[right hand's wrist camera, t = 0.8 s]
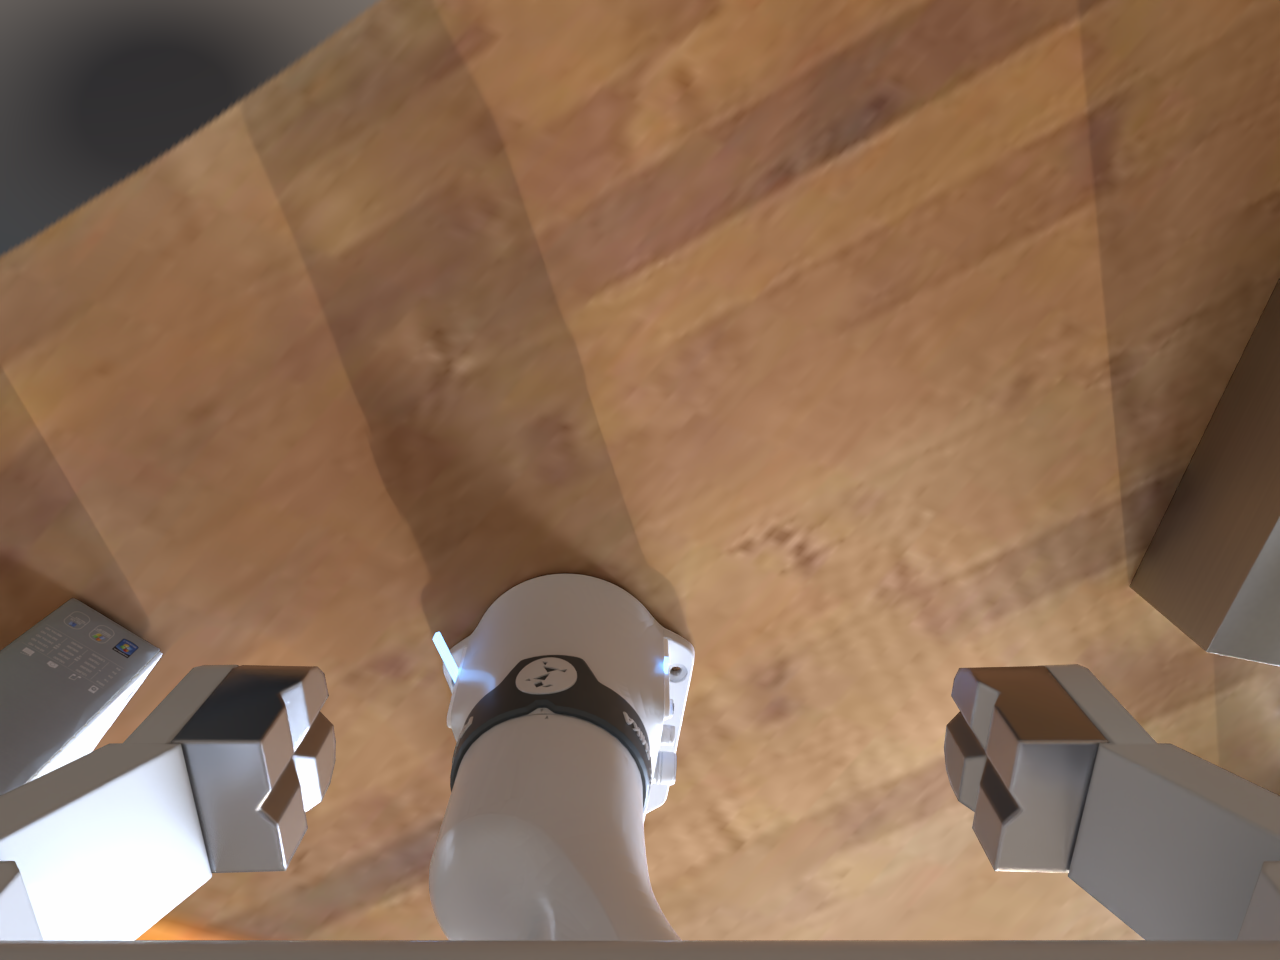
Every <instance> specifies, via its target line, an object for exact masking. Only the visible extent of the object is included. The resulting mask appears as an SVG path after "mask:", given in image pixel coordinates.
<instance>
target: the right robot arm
mask: <svg viewBox="0 0 1280 960" xmlns="http://www.w3.org/2000/svg"><path fill="white" fill-rule="evenodd" d="M433 641H434V643H435V645H436V647H437V649H438V651H439V653H440V655H441V657H442V659H443V672H444V675H445V677H446V680H447V683H448V685H449V688H450V690H451V693H452V697H451V701H450V706H449V710H448V714H447V726H448V727H449V728H451V729H452V731H453V734H454V737H455V740H456V742H457V743H456V747H455V750H454V755H453V760H452V770H451V783H450V786H451V795H450V799H449V802H448V805H447V809H446V812H445V815H444V819H443V822H442V825H441V829H440V832H439V835H438V839H437V842H436V845H435V849H434V852H433V855H432V859H431V862H430V869H429V892H430V898H431V904H432V907H433V911H434V914H435V916H436V919H437V921H438V923H439V925H440V927H441V929H442V931H443V932H444V934H445V935H446V937H447V938H448V940H135V939H137V938H138V937H139V936H140V935H141V934H143V933H144V932H145V931H146V930H148V929H149V928H150V927H151V926H152V925H154V924H155V923H156V922H157V921H159V920H160V919H161V918H162V917H164V916H165V915H166V914H167V913H168V912H170V911H171V910H172V909H173V908H175V907H176V906H177V905H178V904H179V903H181V902H182V901H183V900H184V899H186V898H187V897H188V896H189V895H190V894H192V893H193V892H194V891H195V890H197V889H198V888H199V887H200V886H201V885H203V884H204V883H205V882H206V881H208V880H209V879H210V878H211V877H212V874H211V873H230V872H265V871H286V869H287V867H288V865H289V863H290V861H291V859H292V857H293V855H294V853H295V851H296V850H297V848H298V846H299V844H300V842H301V840H302V838H303V836H304V834H305V832H306V830H307V828H308V826H307V820H306V814H305V812H306V811H308V810H309V809H311V808H312V807H314V806H315V805H316V804H318V803H319V802H321V801H322V799H323V797H324V795H325V793H326V791H327V789H328V787H329V785H330V782H331V778H332V773H333V769H334V764H335V754H336V740H335V733H334V726H333V724H332V723H331V722H330V721H329V720H328V719H327V718H326V717H325V716H324V715H323V714H322V713H321V712H320V710H321V708H322V706H323V705H324V703H325V701H326V700H327V698H328V696H329V695H328V689H327V684H326V679H325V674H324V673H323V672H322V671H321V670H320V669H319V668H318V667H307V666H259V665H242V666H238V665H202V666H198V667H195V668H193V669H192V670H191V671H190V672H189V673H188V674H187V675H186V676H185V677H184V678H183V679H182V680H181V681H180V683H179V684H178V685H177V686H176V687H175V688H174V689H173V690H172V691H171V692H170V693H169V694H168V695H167V696H166V698H165V699H164V700H163V701H162V702H161V703H160V704H159V705H158V706H157V707H156V708H155V709H154V710H153V711H152V713H151V714H150V715H149V716H148V717H147V718H146V719H145V720H144V721H143V722H142V723H141V724H140V725H139V726H138V728H137V729H136V730H135V731H134V732H133V733H132V734H131V735H130V736H129V737H128V738H127V739H126V740H125V741H124V743H123V744H108V745H106V746H104V747H101V748H99V749H97V750H95V751H93V752H91V753H89V754H87V755H85V756H83V757H81V758H78V759H76V760H74V761H72V762H70V763H68V764H66V765H64V766H62V767H60V768H57V769H55V770H53V771H51V772H49V773H47V774H45V775H43V776H41V777H39V778H37V779H34V780H32V781H30V782H28V783H26V784H24V785H22V786H20V787H18V788H16V789H13V790H11V791H9V792H7V793H5V794H3V795H1V796H0V960H1280V796H1279V795H1277V794H1275V793H1273V792H1270V791H1268V790H1266V789H1264V788H1262V787H1260V786H1258V785H1256V784H1254V783H1252V782H1250V781H1247V780H1245V779H1243V778H1241V777H1239V776H1237V775H1235V774H1233V773H1231V772H1229V771H1227V770H1224V769H1222V768H1220V767H1218V766H1216V765H1214V764H1212V763H1210V762H1208V761H1206V760H1204V759H1202V758H1199V757H1197V756H1195V755H1193V754H1191V753H1189V752H1187V751H1185V750H1183V749H1181V748H1179V747H1176V746H1174V745H1172V744H1157V743H1156V741H1155V740H1154V739H1153V738H1152V737H1151V736H1150V735H1149V734H1148V733H1147V732H1146V731H1145V730H1144V729H1143V728H1142V726H1141V725H1140V724H1139V723H1138V722H1137V721H1136V720H1135V719H1134V718H1133V717H1132V716H1131V715H1130V714H1129V712H1128V711H1127V710H1126V709H1125V708H1124V707H1123V706H1122V705H1121V704H1120V703H1119V702H1118V701H1117V700H1116V699H1115V697H1114V696H1113V695H1112V694H1111V693H1110V692H1109V691H1108V690H1107V689H1106V688H1105V687H1104V686H1103V685H1102V683H1101V682H1100V681H1099V680H1098V679H1097V678H1096V677H1095V676H1094V675H1093V674H1092V673H1091V672H1090V671H1089V670H1088V669H1087V668H1085V667H1083V666H1080V665H1078V664H1074V665H1046V666H1026V667H981V668H959V670H958V672H957V674H956V676H955V678H954V683H953V689H952V694H951V696H952V698H953V700H954V701H955V703H956V705H957V706H958V708H959V710H960V712H959V713H958V714H957V715H956V716H955V717H954V718H953V719H952V720H951V721H950V722H949V723H948V724H947V726H946V735H945V743H944V753H945V764H946V771H947V775H948V778H949V781H950V785H951V787H952V789H953V791H954V793H955V795H956V797H957V799H958V801H959V802H961V803H962V804H964V805H965V806H966V807H968V808H969V809H971V810H972V811H974V812H975V814H974V820H973V826H972V828H973V830H974V832H975V834H976V836H977V838H978V840H979V842H980V844H981V846H982V848H983V849H984V851H985V853H986V855H987V857H988V859H989V861H990V863H991V865H992V867H993V868H994V870H995V871H1014V872H1049V873H1068V877H1069V878H1070V879H1072V880H1073V881H1074V882H1075V883H1076V884H1078V885H1079V886H1080V887H1081V888H1083V889H1084V890H1085V891H1086V892H1087V893H1089V894H1090V895H1091V896H1092V897H1094V898H1095V899H1096V900H1097V901H1098V902H1100V903H1101V904H1102V905H1103V906H1105V907H1106V908H1107V909H1108V910H1109V911H1111V912H1112V913H1113V914H1114V915H1116V916H1117V917H1118V918H1119V919H1120V920H1122V921H1123V922H1124V923H1125V924H1127V925H1128V926H1129V927H1130V928H1131V929H1133V930H1134V931H1135V932H1136V933H1138V934H1139V935H1140V936H1141V937H1142V938H1144V939H1145V940H786V941H785V940H784V941H682V940H681V939H680V937H679V936H678V935H677V933H676V932H675V931H674V929H673V928H672V927H671V925H670V924H669V922H668V920H667V919H666V917H665V916H664V914H663V912H662V910H661V908H660V906H659V904H658V902H657V900H656V898H655V896H654V893H653V891H652V888H651V884H650V879H649V874H648V867H647V859H646V851H645V840H644V825H643V824H644V820H645V815H646V813H648V812H650V811H652V810H654V809H656V808H657V807H659V806H661V805H662V804H663V803H664V802H665V800H666V798H667V794H668V789H669V785H672V784H674V783H675V778H676V767H677V756H676V749H677V744H678V739H679V734H680V729H681V724H682V719H683V714H684V709H685V704H686V699H687V694H688V689H689V684H690V679H691V674H692V669H693V664H694V654H695V652H694V647H693V646H692V644H691V643H690V642H689V641H688V640H686V639H685V638H683V637H681V636H680V635H678V634H676V633H674V632H672V631H670V630H668V629H666V628H664V627H663V626H661V625H660V624H659V623H658V622H657V621H656V620H655V619H654V618H653V616H652V615H651V614H650V613H649V611H648V610H647V609H646V608H645V607H644V606H643V605H642V604H641V603H640V602H639V601H638V600H637V599H636V598H635V597H633V596H632V595H631V594H630V593H628V592H627V591H625V590H624V589H622V588H620V587H618V586H616V585H614V584H612V583H610V582H607V581H605V580H602V579H599V578H595V577H591V576H587V575H580V574H552V575H545V576H540V577H537V578H533V579H530V580H527V581H525V582H523V583H520V584H518V585H516V586H515V587H513V588H511V589H510V590H508V591H507V592H505V593H504V594H502V595H501V596H500V597H499V598H498V599H497V600H496V601H495V602H494V603H493V604H492V605H491V606H490V607H489V608H488V610H487V611H486V613H485V614H484V616H483V617H482V619H481V621H480V622H479V624H478V626H477V627H476V629H475V630H474V631H473V633H472V634H471V635H470V636H468V637H467V638H465V639H464V640H462V641H461V642H459V643H458V644H456V645H455V646H453V647H452V648H451V649H450V650H448V648H447V646H446V644H445V642H444V640H443V638H442V636H441V634H440V632H437V633H435V635H434V638H433ZM675 666H677V667H680V669H679V670H677V671H674V670H672V669H671V668H673V667H675Z"/></svg>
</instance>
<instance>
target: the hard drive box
mask: <svg viewBox="0 0 1280 960" xmlns="http://www.w3.org/2000/svg"><path fill="white" fill-rule="evenodd" d="M159 651H160V649H159V648H157V647H155V646H153V645H152V644H150V643H149V642H147V641H146V640H144V639H142V638H140V637H139V636H137V635H135V634H134V633H132V632H130V631H129V630H127V629H125V628H124V627H122V626H120V625H119V624H117V623H115V622H114V621H112V620H110V619H109V618H107V617H105V616H104V615H102V614H100V613H99V612H97V611H95V610H94V609H92V608H90V607H89V606H87V605H85V604H84V603H82V602H80V601H79V600H77V599H75V598H71V599H70V600H69V601H67V602H66V603H65V604H63V605H62V606H61V607H59V608H58V609H56V610H55V611H54V612H52V613H51V614H49V615H48V616H47V617H45V618H44V619H43V620H41V621H40V622H38V623H37V624H36V625H34V626H33V627H32V628H30V629H29V630H28V631H26V632H25V633H24V634H22V635H21V636H20V637H18V638H17V639H16V640H14V641H13V642H12V643H10V644H9V645H8V646H6V647H5V648H4V649H2V650H1V651H0V796H1V795H3V794H5V793H7V792H9V791H11V790H13V789H16V788H18V787H20V786H22V785H24V784H26V783H28V782H30V781H32V780H34V779H37V778H39V777H41V776H43V775H45V774H47V773H49V772H51V771H53V770H55V769H57V768H60V767H62V766H64V765H66V764H68V763H70V762H72V761H74V760H76V759H78V758H81V757H83V756H85V755H87V754H89V753H91V752H92V751H93V750H94V748H95V747H96V745H97V744H98V743H99V741H100V740H101V738H102V737H103V735H104V734H105V733H106V731H107V730H108V729H109V727H110V726H111V725H112V723H113V722H114V721H115V719H116V718H117V717H118V715H119V714H120V712H121V711H122V710H123V708H124V707H125V705H126V704H127V703H128V701H129V700H130V699H131V697H132V696H133V695H134V693H135V692H136V691H137V689H138V688H139V687H140V685H141V684H142V682H143V681H144V680H145V678H146V677H147V675H148V674H149V672H150V671H151V670H152V668H153V667H154V666H155V664H156V663H157V662H158V660H159V659H160V657H161V656H162V653H161V652H159Z"/></svg>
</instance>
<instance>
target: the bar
mask: <svg viewBox="0 0 1280 960" xmlns="http://www.w3.org/2000/svg"><path fill="white" fill-rule="evenodd" d="M1130 588H1132V589H1133V590H1134V591H1135V592H1136V593H1138V594H1139V595H1140V596H1141V597H1142V598H1143V599H1145V600H1146V601H1147V602H1148V603H1149V604H1151V605H1152V606H1153V607H1154V608H1155V609H1156V610H1158V611H1159V612H1160V613H1161V614H1162V615H1164V616H1165V617H1166V618H1167V619H1168V620H1169V621H1171V622H1172V623H1173V624H1174V625H1175V626H1177V627H1178V628H1179V629H1180V630H1181V631H1182V632H1184V633H1185V634H1186V635H1187V636H1188V637H1189V638H1191V639H1192V640H1193V641H1194V642H1195V643H1197V644H1198V645H1199V646H1200V647H1201V648H1202V649H1204V650H1205V651H1206V652H1210V653H1215V654H1220V655H1225V656H1230V657H1235V658H1240V659H1245V660H1250V661H1255V662H1261V663H1266V664H1271V665H1276V666H1280V279H1279V281H1278V283H1277V285H1276V287H1275V289H1274V291H1273V293H1272V295H1271V297H1270V299H1269V301H1268V303H1267V306H1266V308H1265V310H1264V312H1263V314H1262V316H1261V318H1260V320H1259V322H1258V324H1257V326H1256V328H1255V330H1254V332H1253V334H1252V336H1251V338H1250V340H1249V342H1248V345H1247V347H1246V349H1245V351H1244V353H1243V355H1242V357H1241V359H1240V361H1239V363H1238V365H1237V367H1236V369H1235V371H1234V373H1233V375H1232V377H1231V379H1230V381H1229V384H1228V386H1227V388H1226V390H1225V392H1224V394H1223V396H1222V398H1221V400H1220V402H1219V404H1218V406H1217V408H1216V410H1215V412H1214V414H1213V416H1212V418H1211V420H1210V423H1209V425H1208V427H1207V429H1206V431H1205V433H1204V435H1203V437H1202V439H1201V441H1200V443H1199V445H1198V447H1197V449H1196V451H1195V453H1194V455H1193V457H1192V459H1191V462H1190V464H1189V466H1188V468H1187V470H1186V472H1185V474H1184V476H1183V478H1182V480H1181V482H1180V484H1179V486H1178V488H1177V490H1176V492H1175V494H1174V496H1173V498H1172V501H1171V503H1170V505H1169V507H1168V509H1167V511H1166V513H1165V515H1164V517H1163V519H1162V521H1161V523H1160V525H1159V527H1158V529H1157V531H1156V533H1155V535H1154V537H1153V540H1152V542H1151V544H1150V546H1149V548H1148V550H1147V552H1146V554H1145V556H1144V558H1143V560H1142V562H1141V564H1140V566H1139V568H1138V570H1137V572H1136V574H1135V576H1134V579H1133V581H1132V583H1131V585H1130Z"/></svg>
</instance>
